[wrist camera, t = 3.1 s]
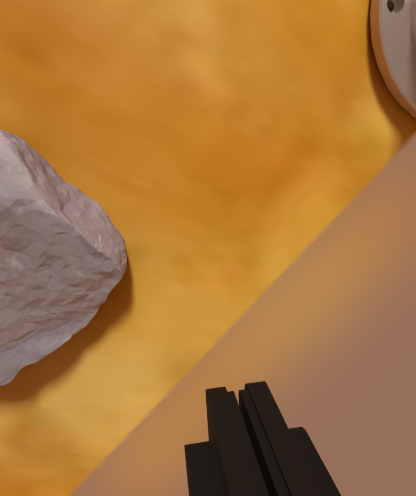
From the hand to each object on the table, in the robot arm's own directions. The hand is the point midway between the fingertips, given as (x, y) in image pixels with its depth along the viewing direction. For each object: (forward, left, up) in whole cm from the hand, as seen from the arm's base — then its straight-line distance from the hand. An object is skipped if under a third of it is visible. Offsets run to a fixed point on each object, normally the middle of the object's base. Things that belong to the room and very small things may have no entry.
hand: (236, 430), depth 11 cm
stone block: (+10, -2, -13) cm, 16 cm away
